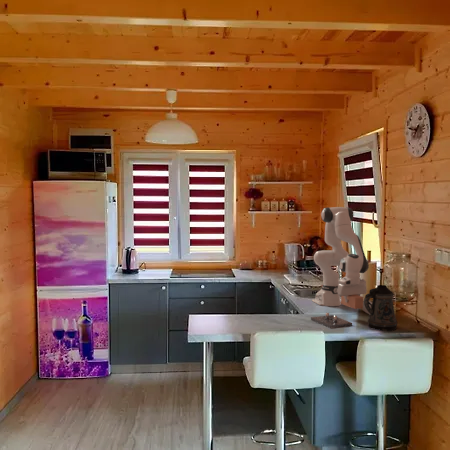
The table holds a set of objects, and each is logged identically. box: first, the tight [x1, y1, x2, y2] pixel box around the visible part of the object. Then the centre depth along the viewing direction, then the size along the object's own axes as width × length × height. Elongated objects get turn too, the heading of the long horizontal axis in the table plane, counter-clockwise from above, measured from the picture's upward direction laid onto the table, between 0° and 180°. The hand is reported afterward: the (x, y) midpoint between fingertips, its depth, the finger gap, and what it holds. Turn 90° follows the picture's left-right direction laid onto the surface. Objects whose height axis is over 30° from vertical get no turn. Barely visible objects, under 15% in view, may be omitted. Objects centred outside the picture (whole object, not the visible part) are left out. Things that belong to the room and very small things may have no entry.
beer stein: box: [363, 284, 398, 332], centre depth 275 cm, size 16×19×25 cm
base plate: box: [310, 312, 353, 328], centre depth 286 cm, size 20×16×5 cm
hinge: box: [361, 300, 372, 316], centre depth 310 cm, size 17×5×10 cm, turn 6°
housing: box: [340, 295, 364, 310], centre depth 294 cm, size 14×6×7 cm, turn 23°
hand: (351, 301), depth 295 cm, fingers closed on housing, 6 cm apart
